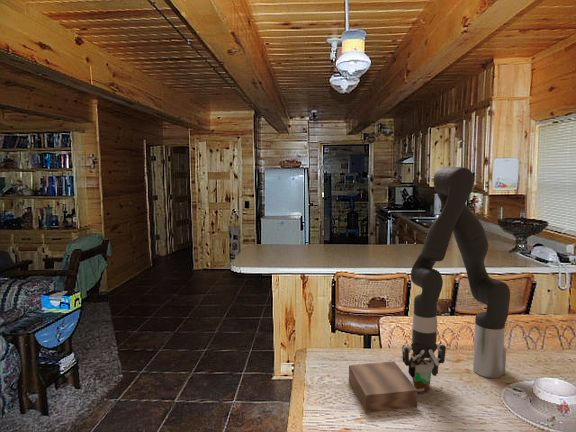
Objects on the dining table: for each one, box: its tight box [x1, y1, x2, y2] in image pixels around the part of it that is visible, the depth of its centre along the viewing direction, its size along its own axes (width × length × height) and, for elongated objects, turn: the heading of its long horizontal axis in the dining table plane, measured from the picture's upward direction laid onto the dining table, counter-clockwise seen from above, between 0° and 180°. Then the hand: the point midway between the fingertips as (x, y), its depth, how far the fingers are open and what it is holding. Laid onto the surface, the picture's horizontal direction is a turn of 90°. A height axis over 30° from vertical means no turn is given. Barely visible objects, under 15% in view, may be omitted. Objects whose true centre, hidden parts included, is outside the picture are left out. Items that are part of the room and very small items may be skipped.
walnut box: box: [348, 361, 418, 414], centre depth 133 cm, size 16×18×6 cm
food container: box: [411, 358, 434, 395], centre depth 136 cm, size 12×6×10 cm, turn 168°
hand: (423, 375), depth 136 cm, fingers closed on food container, 7 cm apart
